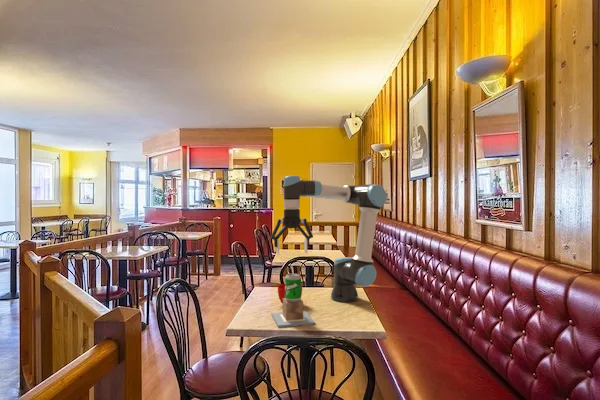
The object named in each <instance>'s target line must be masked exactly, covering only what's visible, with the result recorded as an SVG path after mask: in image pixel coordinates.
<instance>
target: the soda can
mask: <svg viewBox="0 0 600 400" xmlns="http://www.w3.org/2000/svg"><path fill="white" fill-rule="evenodd" d="M284 281H285V282H284V284H285V299H286V300H287V301H288V302H298V301H299V300H300V299H301V300H302V295H301V286H302V276H301V275H300V274H299V273H293V272H292V273H287V274H286V275H285V276H284Z"/></svg>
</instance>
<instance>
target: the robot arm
mask: <svg viewBox="0 0 600 400" xmlns="http://www.w3.org/2000/svg"><path fill="white" fill-rule="evenodd" d="M301 197H304V198H305V197H306V198H315V199H325V200H336V201H341V202H342V203H347V204H352V205H356V206H358V209H359V211H360V215H359V216H360V218H359V223H358V224H359V225H358V230H357V231H358V232H357V239H356V245H355V251H354V256H352V257H351V256H349V257H348V256H347V257H345V256H344V257H337V258H335V259H334V263H333V266H334V267H333V269H334V270H333V272H334V273H333V276H334V277H333V278H334V279H333V288H332V290H331V293H330V298H331V300H333V301H336V302H341V303H353V302H357V301H358V300H359V293H358V290H357V287H356V285H357V286H359V287H365V288H366V287H369V286H371V285H372V284H373V283H374V282H375V280H376V278H377V274H378V273H377V272H378V271H377V270H376V267H375V266H374V260H373V258H372V254H373V247H374V240H375V239H374V238H375V232H376V224H377V218H378V213H379V212H381V209H382V207H383V206H384V205H385V204H386V203H387V200H388V195H387V191H386V190H385V188H384V186H382V185H380V184H374V183H369V184H357V185H345V184H344V185H343V186H339V185H330V184H323V183H321V181H319V180H314V179H313V180H310V179H309V180H308V179H307V180H301V178H300V176H299V175H286V176H285V177H284V178H283V208H284V209H283V219H280V218H278V219H277V220H276V224H275V226H274V229H273V231H272V232H271V235H270V237H269V238H270V239H271V240H273V241H274V242H273V244H274V246H273V247H274V248H276V254H277V256H278V255H280V240H279V239H280V237H281V236H282V235H283V234H284V232H285V231H286V230H287V229H290V230H291V229H298V231H300V233H301V234H302V236H304V239H303V241H304V242H303V243H304V245H303V247H304V251H303V252H304V253H305V254H308V247H309V246H310V239H312V238H314V235H313V233H312V231H311V229H310V226H309V225H308V223H307V222H308V221H307V218H305V217H304V218H302V219H301V209H300V208H301V205H300V203H301V200H300V199H301ZM301 223H302V224H303V226H304V228H305V230H306V232H305V231H304V229H303V228H302V226H300V224H301ZM281 224H284V225H283V226H282V228H281V229H280V230H279V228H280V226H281Z"/></svg>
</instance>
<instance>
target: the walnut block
mask: <svg viewBox="0 0 600 400" xmlns="http://www.w3.org/2000/svg"><path fill="white" fill-rule="evenodd" d="M303 311H304V301H303V299H302V298H301V299H300V300H299V301H298V302H288V301H287V300H286V299H285V298H283V304H282V312H283V316H284V318H285V319H286V321H288V320H300V319H303Z"/></svg>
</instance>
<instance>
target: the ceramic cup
mask: <svg viewBox="0 0 600 400" xmlns="http://www.w3.org/2000/svg"><path fill="white" fill-rule="evenodd" d="M277 295H278V299H279V301H280V303H281V304H282V305H283V298H285V283H281V284H279V285H277ZM302 295H303V285H301V296H302Z"/></svg>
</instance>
